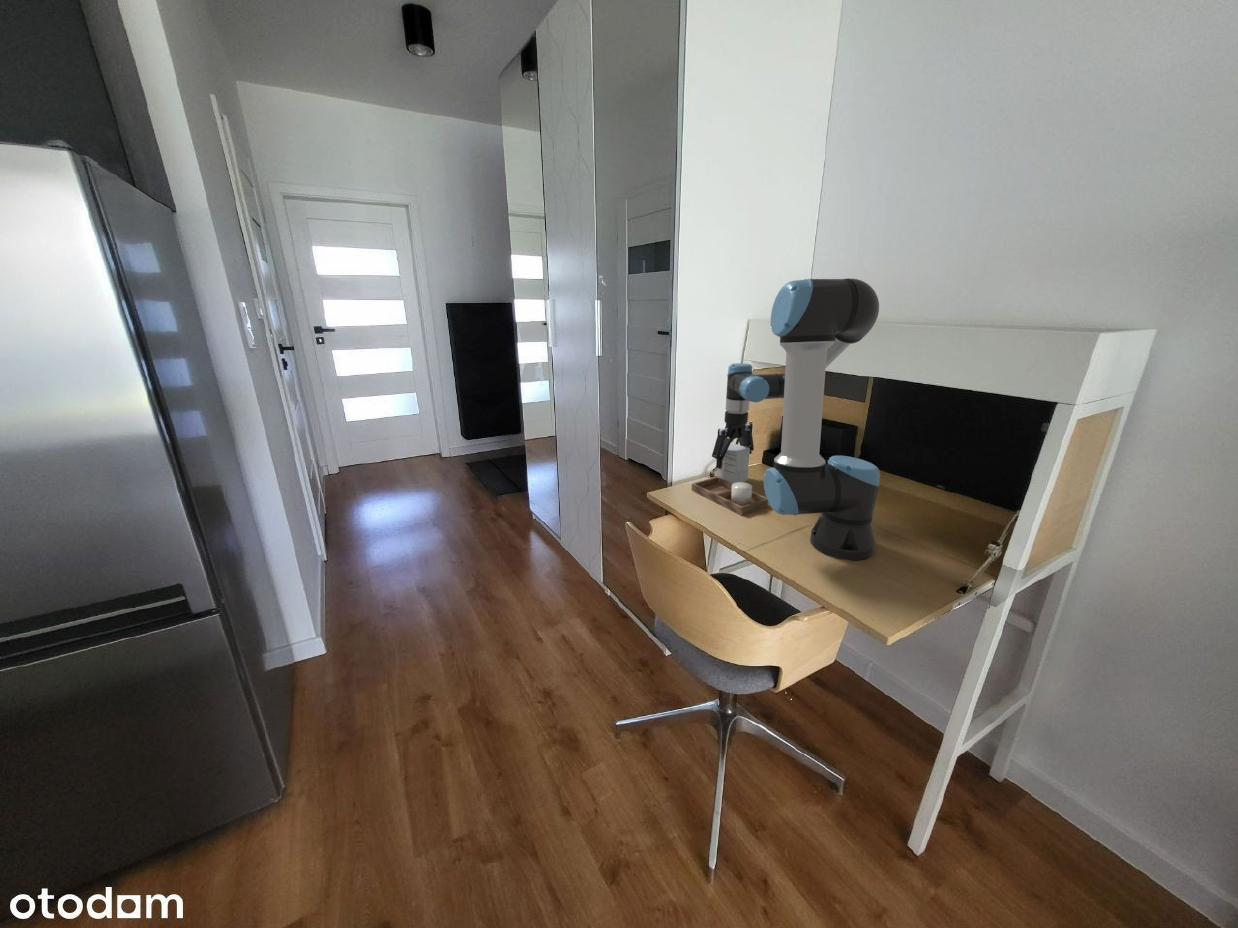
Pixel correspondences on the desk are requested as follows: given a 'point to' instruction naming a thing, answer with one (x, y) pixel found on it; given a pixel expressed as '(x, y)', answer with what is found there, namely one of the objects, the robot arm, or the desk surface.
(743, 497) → the ceramic jar
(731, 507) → the tray
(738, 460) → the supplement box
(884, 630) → the desk surface
